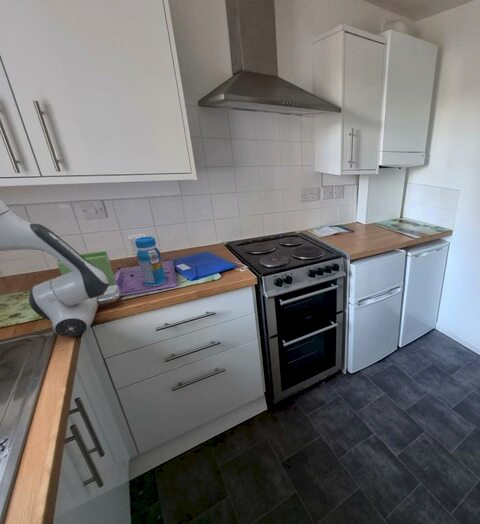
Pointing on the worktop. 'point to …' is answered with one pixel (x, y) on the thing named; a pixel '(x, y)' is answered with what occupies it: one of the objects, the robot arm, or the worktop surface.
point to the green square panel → (97, 260)
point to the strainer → (134, 242)
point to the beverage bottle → (150, 262)
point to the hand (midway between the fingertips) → (88, 289)
